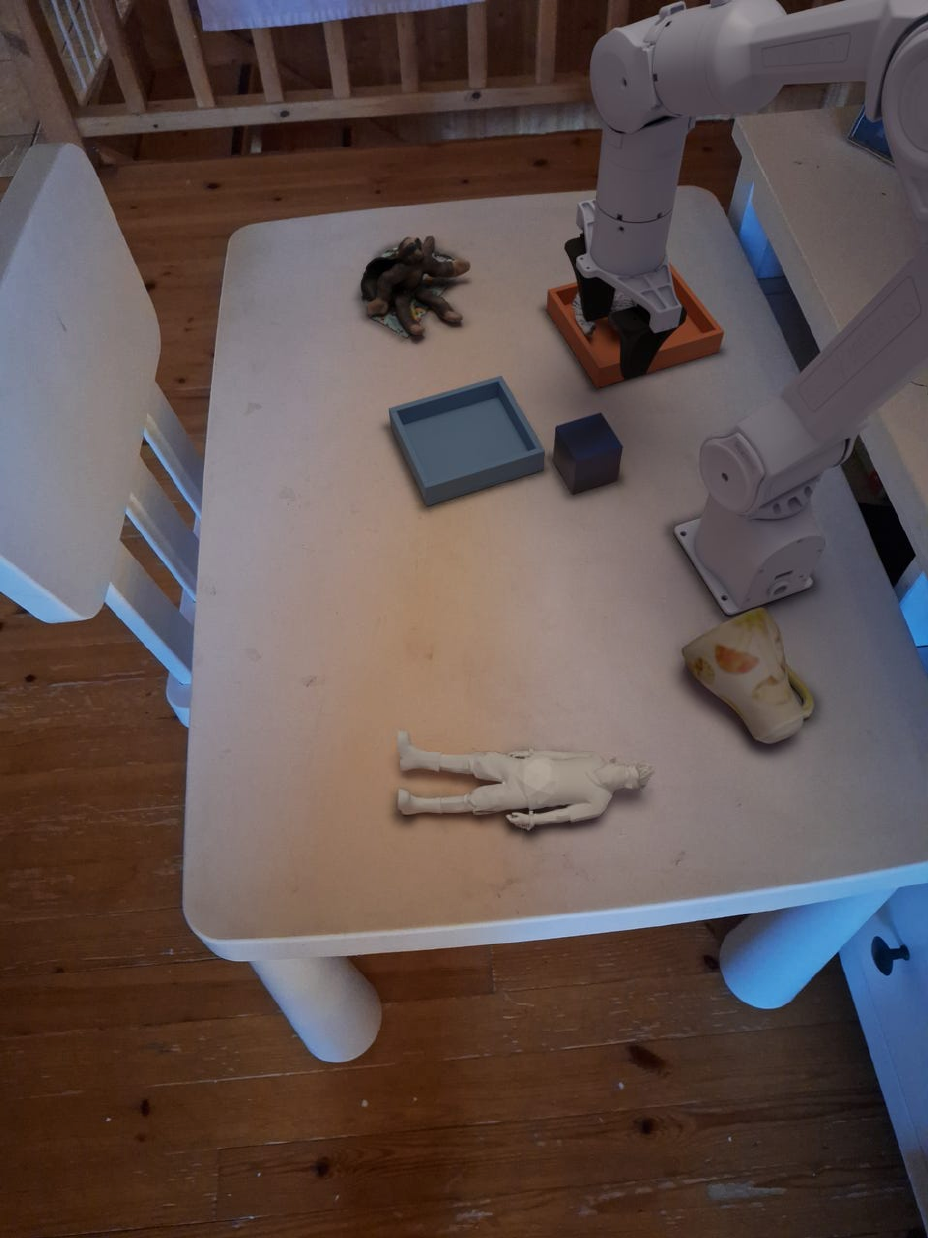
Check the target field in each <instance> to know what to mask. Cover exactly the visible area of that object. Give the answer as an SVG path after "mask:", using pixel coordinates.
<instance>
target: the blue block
mask: <svg viewBox="0 0 928 1238" xmlns="http://www.w3.org/2000/svg"><path fill="white" fill-rule="evenodd" d="M554 428H555V429H554V441H553V454H552V461H553V463H554V465H555V467H556V468H557V470H558V472H559V473H560V475H561V477H562V478H563V481H564V482H565V484H566V486H567V487H568V489H569V491H570V493H571V494H572V495H575V494H578V493H582V492H585V491H588V490H591V489H594V488H598V487H600V486H604V485H606V484H610V483H614V482H615V481H618V478H619V472H620V467H621V461H622V457H623V450H624V445H623V444H622V443H621V441H620V439H619V437H618V436H617V435H616V433H615V431H614V429H612V426H611V425H610V424H609V422H608V421H607V419H606V417H605V416H604V414H603V412H601V411H599V412H597V413H594V414H590V415H587V416H585V417H581V418H578V419H575V420H571V421H568V422H564V423H561V424H558V425H555V427H554Z"/></svg>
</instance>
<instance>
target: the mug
mask: <svg viewBox="0 0 928 1238" xmlns="http://www.w3.org/2000/svg"><path fill="white" fill-rule="evenodd" d="M776 622H777V621H776V620H775V619H774V618H773V616H772V615H771V614H770V613H769V611H768V610H767V609H765V608H764V607H762V606H760V607H755V608H754V609H753V608H752V609H750V610H749V611H748V610H747V611H746V612H744V613H742V614H740V615H737V616H734V617H733V618H731V619H729V620H726V621H725V622H722V623H721V624H719V625H717V626H715V627H713V628H711V629H710V630H707V631H705V633H703V634H701V635H699V636H698V637H696V638H695V639H694V640H692V641H690V642H689V643H688V644H686V645H685V646H683V647H681V651H680V652H681V655H682V656H683V659H684V661H685V664H686V667H688V669H689V670H690V672H691V673H692V675H693V676H694V677H695V678H696V679H697V680H698V681H699V682H700V683H701V685H702V686H704V687H705V688H706V689H708V690H709V691H710V692H712V693H713V694H714V695H716V696H717V697H718V698H720V699H721V701H723V702H724V703H726V704H727V705H728V706H730V707H731V708H732V709H733V710H734V712H736V714H738V716H740V718H741V720H742V721H743V722H744V724H745V726H746V728H747V730H748V731H749V732H750V734H751V735H752V737H753V739H754V740H756V741H759V742H762V743H764V744H774V743H777V742H780V741H783V740H785V739H789V738H790V737H791V736H793V735H795V734H796V733H798V732H799V731H800V730H801V728H802V727H803V725H804V720H805V719H808V718H809V717H810V716H811V715H812V713H813V710H814V709H815V708H814V707H815V704H814V698H813V694H812V693H811V691H810V689H809V688H808V687H807V685H805V683H804V682H803V681H802V679H801V678H800V677H798V675H797V674H796V673H795V672H794V671H793V669H791V668H790V667H789V665H788V663H787V661H786V655H785V647H784V642H783V638H782V634H781V631H780V628H779V626H778V623H776ZM791 686H792V687H793V689H794V690H795V691H796V692H797V694H798V695H799V696H800V698H801V700H802V703H803V704H802V705H800V703H799V701H798V699H797V698H796V696H795V694H794V692H793V689H792V687H791Z"/></svg>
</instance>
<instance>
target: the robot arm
mask: <svg viewBox="0 0 928 1238" xmlns="http://www.w3.org/2000/svg"><path fill="white" fill-rule="evenodd" d="M589 81H590V89H591V93H592V97H593V100H594V103H595V106H596V109H597V111H598V113H599V114H600V116H601V118H602V119H603V123H602V133H601V143H600V154H599V162H598V163H599V166H598V172H597V173H598V174H597V182H596V192H595V198H592V199H589V200H584V201H580V202H578V203H577V208H576V220H575V224H576V226H577V227H578V229H579V230H580V231H582V232H581V233H580V234H579V236H578V237H573V238H570V239H568V240H567V241H566V242H565V243H564V245H563V249H564V251H565V254H566V256H567V257H568V259H569V262H570V265H571V267H572V270H573V273H574V275H575V280H576V282H577V284H578V290H579V296H580V302H581V308H582V313H583V317H584V319H585V321H586V322H591V321H595V320H598V319H602V318H605V317H608V315H609V312H610V310H611V307H612V303H613V299H614V294H615V290H616V289H617V290H618V291H620V292H621V293H623V294H624V295H626V296H627V297H629V298H630V299H632V300H633V301H635V302H636V303H637V306H636V307H630V308H627V309H623V310H619V311H616V312H612V316H611V317H612V319H613V321H614V323H615V325H616V328H617V331H618V335H619V341H620V372H621V375H622V377H623V378H624V379H625V380H624V381H627V380H631V379H634V378H637V377H641V376H644V375H646V374H647V373H646V372H647V370H648V368H649V367H650V365H651V363H652V361H653V359H654V357H655V355H656V354H657V352H658V350H659V349H660V347H661V346H662V345H663V343H664V342H665V341H666V340H667V338H668V337H669V336H670V335H671V334H672V333H673V332H674V331H675V330H676V329H677V328H679V327H680V326H681V325H682V324H683V323H684V322H685V321H686V316H687V311H686V309H685V308H684V306H683V305H682V304H681V302H680V301H679V300H678V299H677V297H676V294H675V291H674V286H673V281H672V276H671V270H670V265H669V262H670V261H669V255H668V251H667V243H668V239H669V233H670V227H671V222H672V218H673V217H672V216H673V211H674V205H675V199H676V195H677V189H678V184H679V178H680V172H681V167H682V161H683V156H684V150H685V145H686V139H687V135H689V133H690V132H691V131H692V129H694V128H695V127H696V122H697V118H698V117H704V116H716V115H717V116H718V115H727V114H728V115H729V114H739V113H752V112H756V111H758V110H761V109H762V108H764V107H766V106H767V105H768V104H769V103H771V102H772V101H773V99H775V98H776V96H777V95H778V94H779V92H780V91H781V90H782V88H783V86H784V85H785V86H786V85H804V84H805V85H806V84H833V83H852V82H853V83H855V82H865V89H864V112H865V113H864V115H865V117H866V119H867V120H868V121H869V122H870V123H876V122H878V121H882V125H883V130H884V131H883V132H884V134H885V138H886V142H887V146H888V149H889V151H890V155H891V158H892V161H893V163H894V167H895V169H896V173H897V176H898V179H899V182H900V185H901V188H902V191H903V194H904V197H905V200H906V203H907V206H908V209H909V212H910V214H911V218H912V221H913V225H914V227H915V231H916V233H917V236H918V239H919V241H921V242H922V243H924V245H923V246H922V247H921V248H920V249H919V250H918V251H917V252H916V253H915V254H914V255H913V256H912V257H911V259H910V260H908V262H906V263H905V265H904V266H903V267H902V268H901V269H900V270H899V271H898V272H897V273H896V274H895V275H894V276H893V277H892V278H891V279H890V280H889V281H888V282H887V283H886V284H885V285H884V286H883V287H882V288H881V290H880V291H878V293H876V295H875V296H873V298H872V299H871V300H870V301H869V302H867V304H866V305H865V306H864V307H863V308H862V309H861V310H860V311H859V312H858V313H857V314H856V315H855V316H854V317H853V318H852V319H851V320H850V321H849V322H848V324H846V326H844V327H843V329H842V330H840V332H838V334H837V335H835V336H834V338H833V339H832V340H830V342H829V343H827V344H826V346H825V347H824V348H823V349H822V350H821V351H819V353H818V354H817V355H816V356H815V358H813V359H812V361H810V363H808V364H807V366H806V367H804V368H803V370H801V372H800V373H799V374H797V376H796V377H795V378H794V379H793V380H792V381H791V382H790V383H789V384H788V385H787V386H786V387H785V388H784V389H783V390H782V391H781V392H780V393H779V394H778V395H776V396H775V397H773V398H772V399H771V400H769V401H768V402H767V403H765V404H763V405H762V406H760V407H759V408H758V409H756V410H755V411H753V412H751V414H749V415H747V416H746V417H745V418H743V419H741V420H740V421H739V422H738V423H736V424H734V425H732V426H729V427H728V428H726V429H724V430H723V431H722V430H721V431H716V432H713V433H711V434H710V435H708V436H707V437H705V438H704V440H703V441H702V444H701V446H700V449H699V456H698V457H699V458H698V459H699V461H698V462H699V463H698V466H699V472H700V473H699V474H700V476H701V480H702V483H703V484H704V486H705V488H706V490H707V491H708V495H707V498H706V501H705V503H704V504H705V505H704V508H703V511H702V514H701V517H698V518H696V519H692V520H689V521H686V522H683V523H680V524H677V525H675V527H674V529H673V533H674V535H675V538H676V539H677V540H678V541H679V543H680V545H681V546H682V548H683V549H684V551H685V553H686V554H687V556H688V558H689V559H690V560H691V562H692V563H693V565H694V567H695V569H696V570H697V572H698V573H699V575H700V576H701V578H702V579H703V581H704V583H705V584H706V586H707V587H708V589H709V591H710V592H711V593H712V595H713V598H715V600H716V601H717V603H718V605H719V606H720V608H721V610H723V613H725V614H726V615H728V616H734V615H736V614H739V613H742V612H745V611H748V610H752V609H753V608H757V607H759V606H761V605H765V604H768V603H770V602H773V601H776V600H779V599H782V598H784V597H787V596H790V595H794V594H795V593H799V592H801V591H804V590H808V589H810V588H811V587H812V585H813V584H814V583H813V579H812V577H811V574H812V572H813V570H814V568H815V567H816V565H817V563H818V561H819V559H820V557H821V555H822V553H823V552H824V549H825V547H826V539H825V537H824V534H823V533H822V531H821V530H820V527H819V526H818V524H817V521H816V519H815V516H814V512H813V507H812V497H813V496H812V495H813V493H814V491H815V488H816V484H818V483H820V481H821V479H822V477H823V475H824V472H825V471H827V470H829V469H833V468H835V467H838V466H840V465H842V464H843V463H844V462H846V461H847V460H848V458H849V457H850V456H851V454H852V452H853V449H854V445H855V442H856V440H857V438H858V436H859V434H860V433H862V432H863V431H864V430H865V429H866V428H867V427H868V426H869V425H870V421H869V417H870V416H872V414H874V413H875V412H876V411H878V410H879V409H880V408H881V407H882V406H883V405H885V404H886V403H887V402H889V400H891V399H892V398H893V397H895V396H896V395H897V394H898V393H900V391H902V390H903V389H904V388H906V387H907V386H908V385H909V384H911V382H913V381H914V380H916V379H917V378H918V377H919V376H921V374H923V373H924V372H925V371H926V370H927V369H928V0H842V1H838V2H832V3H829V4H826V5H822V6H818V7H814V8H813V7H812V8H809V9H805V10H802V11H798V12H793V13H788V14H787V12H786V11H785V9H784V7H783V6H782V5H781V3H779V2H778V1H777V0H709V4H704V5H700V6H695V7H691V8H687V5H686V2H684V1H678V2H673V3H670V4H667V5H665V6H662V7H661V8H660V9H659V11H658V14H656V15H654V16H651V17H648V18H645V19H642V20H639V21H636V22H634V23H631V24H627V25H625V26H622V27H614V28H612V29H611V30H610V31H609V32H608V33H606V34H604V35H603V36H601V37H600V38H599V39H598V40H597V41H596V43H595V45H594V47H593V50H592V53H591V57H590V63H589ZM724 599H725V600H724Z"/></svg>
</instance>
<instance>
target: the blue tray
mask: <svg viewBox="0 0 928 1238" xmlns="http://www.w3.org/2000/svg"><path fill="white" fill-rule="evenodd" d="M388 416H389V423H390V430H391V431H392V433H393V436H394V437H395V440H396V442H397V444H398V446H399V448H400V450H401V452H402V455H403V457H404V459H405V461H406V464H407V466H408V469H409V470H410V472H411V475H412V476H413V479H414V481H415V483H416V485H417V488H418V490H419V492H420V494H421V496H422V498H423V501H424V503H425V505H426V507H430V506H432V505H435V504H439V503H442V502H446V501H448V500H451V499H455V498H458V497H461V496H465V495H467V494H471V493H473V492H474V493H475V492H477V491H480V490H483V489H486V488H490V487H493V486H497V485H499V484H503V483H506V482H510V481H512V480H516V479H519V478H522V477H524V476H528V475H531V474H535V473H538V472H542V471H544V469H545V457H546V456H545V454H546V450H545V448H544V447H543V445H542V444H541V442H540V440H539V437H538V436H537V435H536V433H535V431H534V429H533V428H532V426H531V425H530V422H529V420H528V419H527V417H526V416H525V413H524V412H523V411H522V408H521V406H520V405H519V403H518V402H517V400H516V398H515V397H514V394H513V393H512V391H511V389H510V387H509V386H508V384H507V382H506V380H505V378H504V376H502V375H498V376H495V377H492V378H489V379H485V380H481V381H478V382H475V383H471V384H467V385H464V386H461V387H457V388H454V389H450V390H446V391H443V392H440V393H436V394H433V395H430V396H426V397H423V398H420V399H416V400H413V401H409V402H406V403H405V402H404V403H402V404H398V405H396V406H395V405H394V406H391V407H388Z"/></svg>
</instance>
